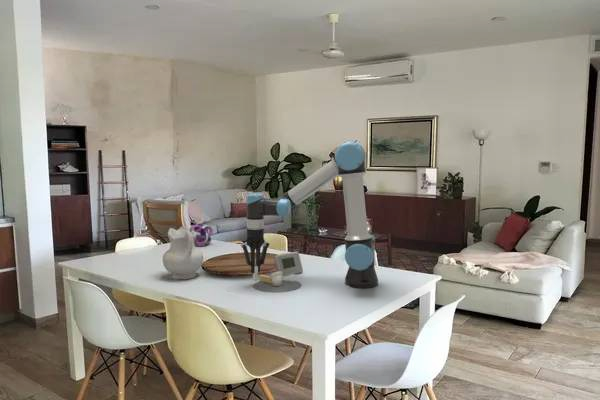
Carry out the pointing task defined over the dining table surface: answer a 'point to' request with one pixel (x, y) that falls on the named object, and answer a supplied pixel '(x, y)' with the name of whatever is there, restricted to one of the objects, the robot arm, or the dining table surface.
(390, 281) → the dining table surface
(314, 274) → the dining table surface
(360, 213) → the robot arm
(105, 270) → the dining table surface
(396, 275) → the dining table surface
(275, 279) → the peg
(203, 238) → the sculpture
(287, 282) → the grey flat disc
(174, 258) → the ceramic pitcher
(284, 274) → the digital clock
